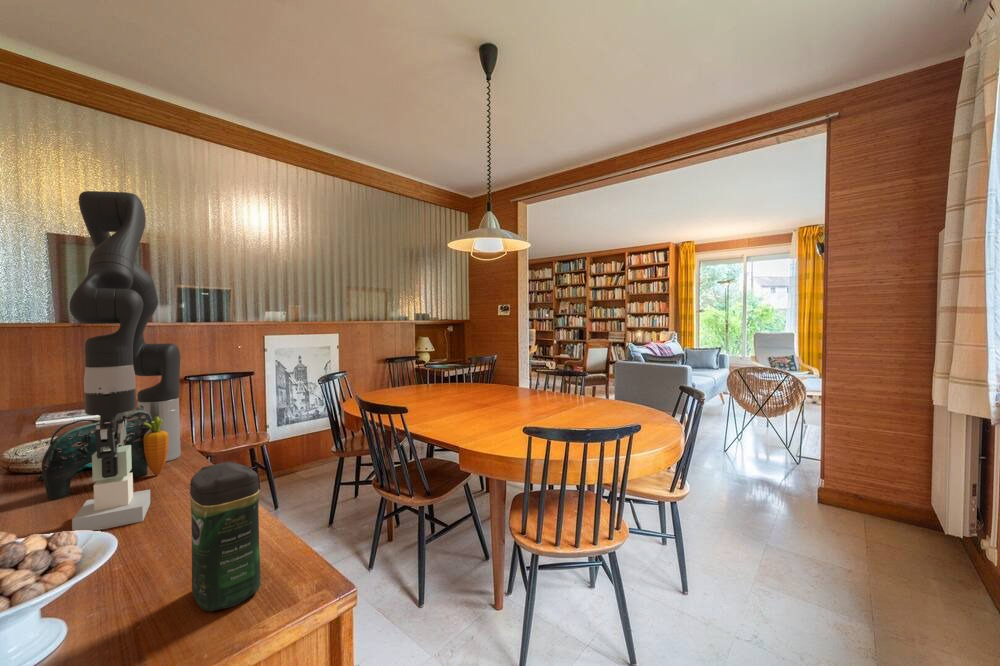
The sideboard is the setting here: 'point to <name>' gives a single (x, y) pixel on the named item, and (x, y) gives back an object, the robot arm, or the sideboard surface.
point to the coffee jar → (224, 535)
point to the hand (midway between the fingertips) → (113, 472)
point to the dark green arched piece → (89, 452)
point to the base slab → (112, 514)
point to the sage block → (122, 459)
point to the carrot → (156, 446)
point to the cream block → (113, 492)
